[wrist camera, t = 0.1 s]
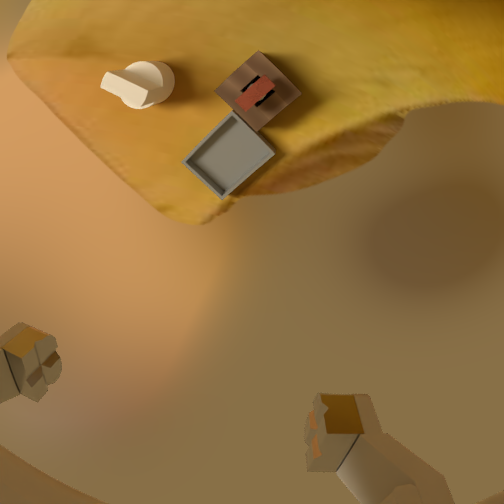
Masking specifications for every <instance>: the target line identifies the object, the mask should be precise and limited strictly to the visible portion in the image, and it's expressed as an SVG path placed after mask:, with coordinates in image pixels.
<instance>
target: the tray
mask: <svg viewBox="0 0 504 504" xmlns="http://www.w3.org/2000/svg"><path fill="white" fill-rule="evenodd" d="M275 152H276V149H275V148H274V147H273V146H272V145H271V144H270V143H269V142H268V141H267V140H266V139H265V138H264V137H263V136H262V135H261V134H260V133H259V132H258V131H257V132H256V131H255V130H254V129H253V128H252V127H251V126H250V125H249V124H248V123H247V122H246V121H245V120H244V119H243V118H242V117H241V116H240V115H239V114H238V113H237V112H236V111H235V110H232V111H231V112H230V113H229V114H228V115H227V116H226V117H225V118H224V119H223V120H222V121H221V122H220V123H219V124H218V125H217V126H216V127H215V128H214V129H213V130H212V131H211V132H210V133H209V134H208V135H207V136H206V137H205V138H204V139H203V140H202V141H201V142H200V143H199V144H198V145H197V146H196V147H195V148H194V149H193V150H192V151H191V152H190V153H189V154H188V155H187V156H186V157H185V159H184V160H183V161H182V163H183V164H184V165H185V166H186V167H187V168H188V169H189V170H190V171H191V172H192V173H193V174H195V175H196V176H197V177H198V178H199V179H200V180H201V181H202V182H203V183H204V184H205V185H206V186H207V187H208V188H210V189H211V190H212V191H213V192H214V193H215V194H216V195H217V196H218V197H219V198H220V199H221V200H223V199H224V198H225V197H226V196H227V195H228V194H229V193H231V192H232V191H233V190H234V189H235V188H236V187H237V186H239V185H240V184H241V183H242V182H243V181H244V180H245V179H247V178H248V177H249V176H250V175H251V174H252V173H254V172H255V171H256V170H257V169H258V168H259V167H261V166H262V165H263V164H264V163H265V162H266V161H268V160H269V159H270V158H271V157H272V156H274V155H275Z"/></svg>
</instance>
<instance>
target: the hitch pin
mask: <svg viewBox="0 0 504 504" xmlns="http://www.w3.org/2000/svg"><path fill="white" fill-rule="evenodd" d="M275 86H276V85H275V84H274V83H273V82H272V81H271V80H270V79H269V78H268V77H267V76H266V75H265V74H264V75H263V76H262V77H261V78H259V79H258V80H257V81H256V82H255V83H253V84H251V85H250V86H249V87H248V88H247V90H246V91H245V92H244V93H243V94H242V95H240V96H239V97H238V98H237V99H236V100H235V102H236V103H237V104H238V105H239V106H240V107H241V108H242V109H243V110H244V111H245V112H246V111H247V110H249V109H250V108H251V107H252V106H253V105H254V104H255V103H256V102H257V101H260V100H262V99H263V98H264V97H265V96H266V95H267V93H268V92H269V91H270V90H271V89H272V88H274V87H275Z"/></svg>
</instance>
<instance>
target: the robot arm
mask: <svg viewBox="0 0 504 504" xmlns="http://www.w3.org/2000/svg"><path fill="white" fill-rule="evenodd" d="M56 348H57V342H56V339H55V337H53V336H52V335H50V334H48V333H46V332H43V331H41V330H38V329H36V328H34V327H32V326H29V325H27V324H25V323H17V324H16V325H14V326H13V327H12V328H10V329H9V330H8V331H6V332H5V333H4V334H2V335H1V336H0V403H2V402H4V401H7V400H9V399H11V398H13V397H16V396H18V395H20V394H22V395H24V396H26V397H28V398H30V399H32V400H34V401H36V402H39V400H40V399H41V398H42V397H43V396H44V394H45V393H46V392H47V391H48V385H50V384H53V383H55V382H56V381H57V379H58V378H59V376H60V373H61V370H62V363H61V359H60V356H59V355H58V354H57V352H56ZM313 406H314V410H312V411H311V412H309V414H308V417H307V420H306V424H305V436H304V437H305V443H306V444H307V445H308V446H309V448H308V450H307V452H306V463H307V471H310V472H336V474H337V475H338V477H339V478H340V479H341V480H342V482H343V483H344V484H345V485H346V486H347V488H348V489H349V490H350V491H351V492H352V494H353V495H354V496H355V497H356V498H357V500H358V501H359V502H360V503H361V504H455V503H454V501H453V498H452V495H451V493H450V490H449V488H448V485H447V483H446V480H445V478H444V476H443V475H442V474H440V473H439V472H438V471H436V470H435V469H434V468H433V467H431V466H430V465H428V464H427V463H426V462H424V461H423V460H422V459H421V458H419V457H418V456H417V455H415V454H414V453H412V452H411V451H410V450H409V449H407V448H406V447H405V446H403V445H402V444H401V443H399V442H398V441H397V440H395V439H394V438H393V437H392V436H391V435H389V434H388V433H383V432H382V429H381V426H380V423H379V420H378V418H377V415H376V412H375V409H374V406H373V403H372V401H371V398H370V396H369V395H368V394H332V393H317V394H316V396H315V398H314V401H313ZM0 504H109V503H106V502H103V501H101V500H99V499H97V498H94V497H92V496H90V495H87V494H85V493H83V492H81V491H79V490H77V489H74V488H72V487H70V486H68V485H66V484H64V483H63V482H61V481H59V480H57V479H55V478H53V477H51V476H49V475H48V474H46V473H44V472H42V471H41V470H39V469H37V468H36V467H34V466H32V465H31V464H29V463H27V462H26V461H24V460H23V459H21V458H20V457H18V456H17V455H15V454H14V453H12V452H11V451H9V450H8V449H6V448H5V447H4V446H2V445H1V444H0ZM474 504H504V490H503V491H501V492H499V493H496V494H494V495H492V496H490V497H488V498H486V499H483V500H481V501H479V502H476V503H474Z"/></svg>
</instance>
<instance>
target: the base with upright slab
mask: <svg viewBox="0 0 504 504" xmlns="http://www.w3.org/2000/svg"><path fill="white" fill-rule="evenodd" d="M174 84H175V78H174V74H173V72H172V70H171V68H170V67H169V66H168V65H166V64H165V63H163V62H160V61H140V62H136V63H133V64H131V65H129V66H128V67H127V68H126V69H124V70H115V71H108V72H107V73H106V74H105V76H104V78H103V80H102V83H101V88H102V89H105V90H107V91H109V92H111V93H113V94H115V95H117V96H119V97H121V99H122V101H123V102H124V103H125V104H126V105H128V106H129V107H131V108H134V109H143V108H147V107H150V106H153V105H155V104H158V103H161V102H163V101H164V100H166V99H167V98H168V97H169V96H170V94H171V93H172V91H173V88H174Z"/></svg>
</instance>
